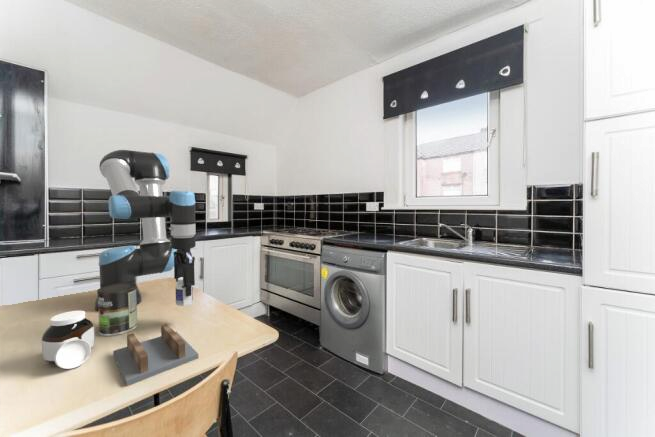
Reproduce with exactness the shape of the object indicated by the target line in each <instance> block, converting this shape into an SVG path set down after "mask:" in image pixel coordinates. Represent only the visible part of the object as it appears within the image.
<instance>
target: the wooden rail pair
mask: <svg viewBox="0 0 655 437" xmlns="http://www.w3.org/2000/svg"><path fill="white" fill-rule="evenodd" d="M160 331H161V332H160V334H161V335H160V336H161V338H162V339H163V340H164V341H165V342H166V344H167V345H168V346H169V347H170V349H171V350H172V351H173V352H174V353H175V355H176V356H177V357H178V358H179V359H181V358H183V357H185V342H184V341H183V340H182V339H181V338H180V337H179V336H178V335H177V333H176V331H175V330H174V329H173V328H172V327H171V326H170V324H168V323H167V322H165V323H162V324H160ZM126 347H127V349H128V350H129V352H130V354H131V356H132V358H133V360H134V362H135V363H136V365H137V367H138V369H139V371H140V373H143V372H146V371H148V355H147V353H146V352H145V350H144V348H143V347H142V345H141V344H140V341H139V340H138V338H137V336H136V335H135V333H134V332H131V333H126Z"/></svg>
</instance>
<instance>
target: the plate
mask: <svg viewBox="0 0 655 437" xmlns="http://www.w3.org/2000/svg"><path fill="white" fill-rule="evenodd" d="M175 332H176V333H177V335H178V336H179V337H180V338H181V339H182V340H183V341H184V342H185V357H183V358H181V359H179V358H178V357H177V356H176V355H175V353H174V352H173V351H172V350H171V349H170V347H169V346H168V345H167V344H166V342H165V341H164V340H163V339H162V338H161V335H160V336H157V337H153V338H151V339H147V340H145V341H142V342H140V341H139V342H140V344H141V345H142V347H143V348H144V350H145V352H146V353H147V355H148V371H146V372H143V373H140V371H139V369H138V367H137V365H136V363H135V362H134V360H133V358H132V356H131V354H130V352H129V350H128V349H127V346H125V347H121V348H118V349H115V350H112V352H113V353H112V354H113V357H114V360H115V362H116V365H117V367H118V369H119V371H120V374H121V376H122V379H123V381H124V383H125V385H126V387H129V386H131V385H133V384H136V383H139V382H141V381H143V380H146V379H148V378H151V377H154V376H156V375H159V374H161V373H164V372H167V371H169V370H172V369H174V368H176V367H179V366H182V365H185V364H188V363H189V362H192V361H195V360H197V359H199V353H198V352H197V351H196V349H195V348H193V347H192V345H190V344H189V343H188V341H187V340H185V338H184V337H182V335H181V334H180V333H179V332H178V331H175Z"/></svg>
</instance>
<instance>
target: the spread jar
mask: <svg viewBox="0 0 655 437" xmlns="http://www.w3.org/2000/svg"><path fill="white" fill-rule="evenodd" d="M49 321H50V326H49V327H48V328H47V329H46V330H45V332H43V334H42V338H41V354H42V358H43V360H44V361H46V362H47V363H49V364H53V365H56V366H57V367H58V368H61V369H65V370H71V369H75V368H78V367H79V366H81V365H84V363H85V362H86V361H87V360H88V359H89V357H90V355H91V352H92V349H93V346H94V344H95V326H94V323H93V322H92V321H91V320H90V319H88V318H86V311H84V310H71V311H65V312H61V313H59V314H56V315H53V316H52V317H51V318H50V320H49Z"/></svg>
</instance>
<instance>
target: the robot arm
mask: <svg viewBox="0 0 655 437" xmlns="http://www.w3.org/2000/svg"><path fill="white" fill-rule="evenodd" d="M99 171H100V174H101V175H102V176H103V177H104V178H105V179H106V181H107V184H108V186H109V190H110V191H111V194H112V195H110V197H109V198H108V212H109V216H110V217H111V218H112V219H118V220H119V219H123V220H127V219H129V220H130V219H141V224H142V225H141V226H142V236H143V238H142V239H143V240H142V241H141V242H140V243H139V248H136V247H135V246H134V245H124V246H117V247H112V248H108V249H105V250H103V251H102V252H100V253H99V255H98V266H99V289H100V288H102V287H104V286H108V285H112V284H119V283H134V284H136V285H137V277H142V276H148V275H149V276H150V275H154V274H155V275H157V274H163V273H165V272H166V273H167V272H171V271H172V270H174V271H173V272H174V273H173V276H174V277H173V278H174V280H175V282H176V285H178V278H180V277H183V283H184V286H181V287H182V288H183V306H182V307H186V306H190V305H193V302H192V286H193V287H194V286H195V284H196V283H195V260H196V258H195V256H192V252H191V249H193V248H195V247H196V244H197V243H196V237H195V235H196V234H197V232H196V198H195V197H196V195H195V193H194V192H193V191H189V190H187V191H186V190H173V191H170V192H169V195H166V196H165V195H164V194H163V185H165V184H166V180H168V179H169V178H170V166H169V163H168V160H167V158H166V157H165V155H163V154H161V153H156V152H147V151H146V152H145V151H140V150H139V151H136V150H127V149H118V150H114V151H110V152H109V153H107V154H105V155H104V156H103V157H102V159H101V160H100V162H99ZM133 179H134V180H133ZM136 185H137V186H138V187H137V186H136ZM137 188H139V190H138V189H137ZM165 218H170V219H169V220H170V227H168V229H169V231H170V236H171V237H170V239H168V238H167V230H166V220H165ZM142 300H143V299H142V293H141V291H140V289H139V287H138V285H137V287H136V302H137V305H139V304H141V303H142ZM94 303H95V304H94V308H95V310H96V311H97V312H99V309H98V296H96V299H95V302H94Z"/></svg>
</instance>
